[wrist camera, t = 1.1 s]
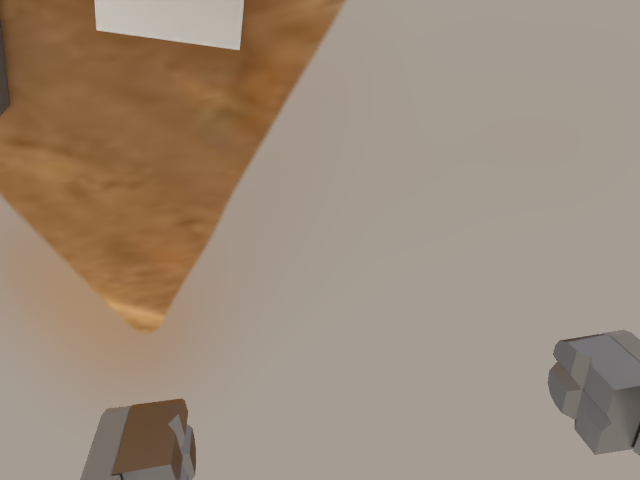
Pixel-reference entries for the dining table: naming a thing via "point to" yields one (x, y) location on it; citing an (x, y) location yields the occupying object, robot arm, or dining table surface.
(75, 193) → the dining table surface
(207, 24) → the offwhite block
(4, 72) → the charcoal board
